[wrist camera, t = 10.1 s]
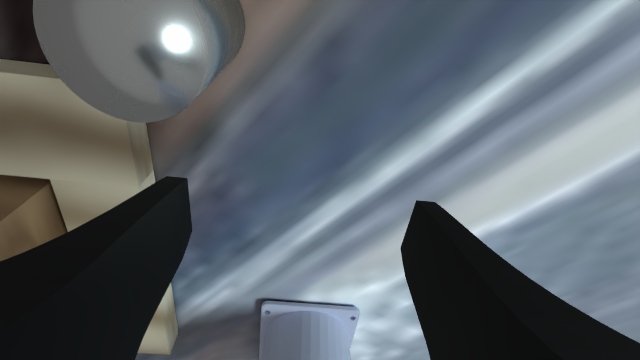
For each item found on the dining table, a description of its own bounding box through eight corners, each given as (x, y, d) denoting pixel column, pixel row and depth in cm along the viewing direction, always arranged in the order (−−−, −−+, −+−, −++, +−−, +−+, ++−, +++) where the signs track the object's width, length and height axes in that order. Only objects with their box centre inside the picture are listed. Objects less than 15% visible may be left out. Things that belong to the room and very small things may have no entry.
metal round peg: (244, 77, 18) (208, 129, 12) (147, 66, 17) (59, 114, 11) (245, -33, 15) (199, -39, 9) (131, -50, 15) (6, -67, 9)
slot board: (178, 332, 29) (170, 354, 27) (6, 321, 28) (-14, 344, 26) (138, 75, 18) (119, 85, 16) (-155, 40, 17) (-209, 48, 15)
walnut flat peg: (82, 233, 23) (2, 323, 17) (37, 229, 23) (-61, 319, 17) (63, 171, 21) (-39, 251, 15) (12, 166, 20) (-115, 245, 14)
